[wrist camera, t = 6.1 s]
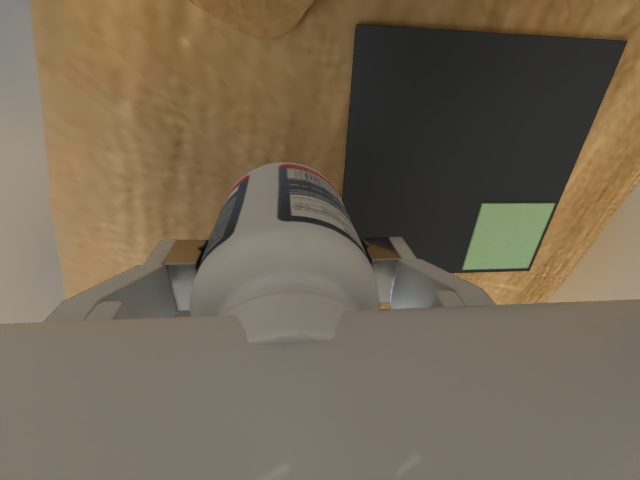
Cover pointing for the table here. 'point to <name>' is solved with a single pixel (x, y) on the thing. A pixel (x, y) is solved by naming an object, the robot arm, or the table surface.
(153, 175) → the table surface
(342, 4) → the table surface
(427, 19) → the table surface
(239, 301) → the pill bottle
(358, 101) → the mat
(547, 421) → the robot arm
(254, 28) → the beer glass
